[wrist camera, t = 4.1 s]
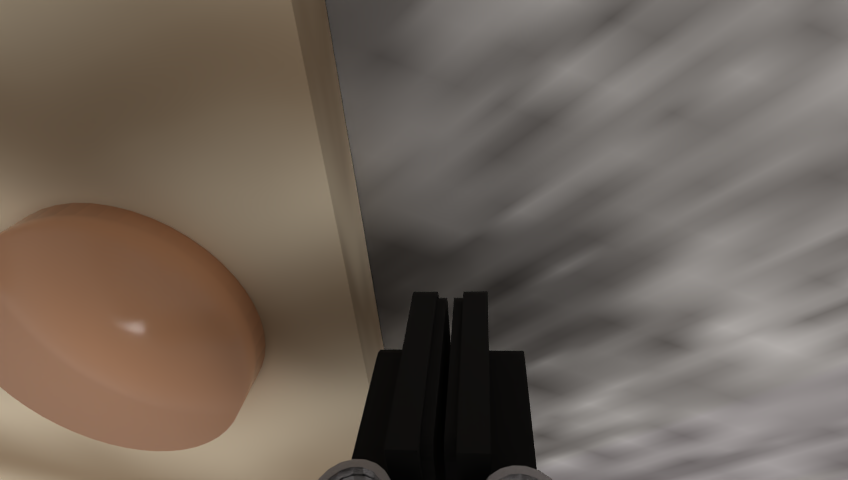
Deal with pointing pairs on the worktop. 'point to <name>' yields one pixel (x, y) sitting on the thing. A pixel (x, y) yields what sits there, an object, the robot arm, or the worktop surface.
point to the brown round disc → (124, 328)
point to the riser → (202, 206)
